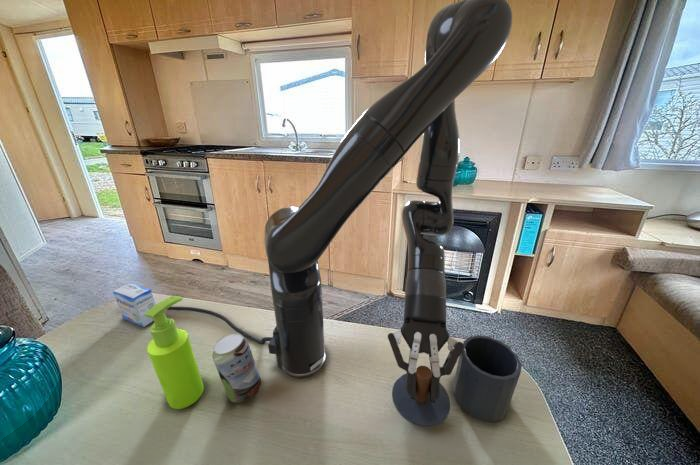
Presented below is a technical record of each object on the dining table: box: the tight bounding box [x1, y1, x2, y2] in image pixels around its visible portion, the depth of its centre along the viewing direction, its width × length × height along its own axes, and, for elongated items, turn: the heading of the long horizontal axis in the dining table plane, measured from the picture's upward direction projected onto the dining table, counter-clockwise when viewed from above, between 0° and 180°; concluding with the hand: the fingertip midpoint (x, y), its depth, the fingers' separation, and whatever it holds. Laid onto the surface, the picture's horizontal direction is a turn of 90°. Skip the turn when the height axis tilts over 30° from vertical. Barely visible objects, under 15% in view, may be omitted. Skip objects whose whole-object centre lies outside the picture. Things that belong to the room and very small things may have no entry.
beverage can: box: [211, 332, 262, 404], centre depth 50 cm, size 6×7×12 cm
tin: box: [452, 334, 523, 423], centre depth 49 cm, size 9×9×10 cm
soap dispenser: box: [144, 295, 205, 410], centre depth 48 cm, size 6×7×20 cm
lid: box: [391, 365, 451, 428], centre depth 48 cm, size 10×10×7 cm
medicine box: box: [112, 282, 157, 328], centre depth 69 cm, size 8×4×9 cm, turn 68°
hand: (422, 399), depth 46 cm, fingers closed on lid, 2 cm apart
